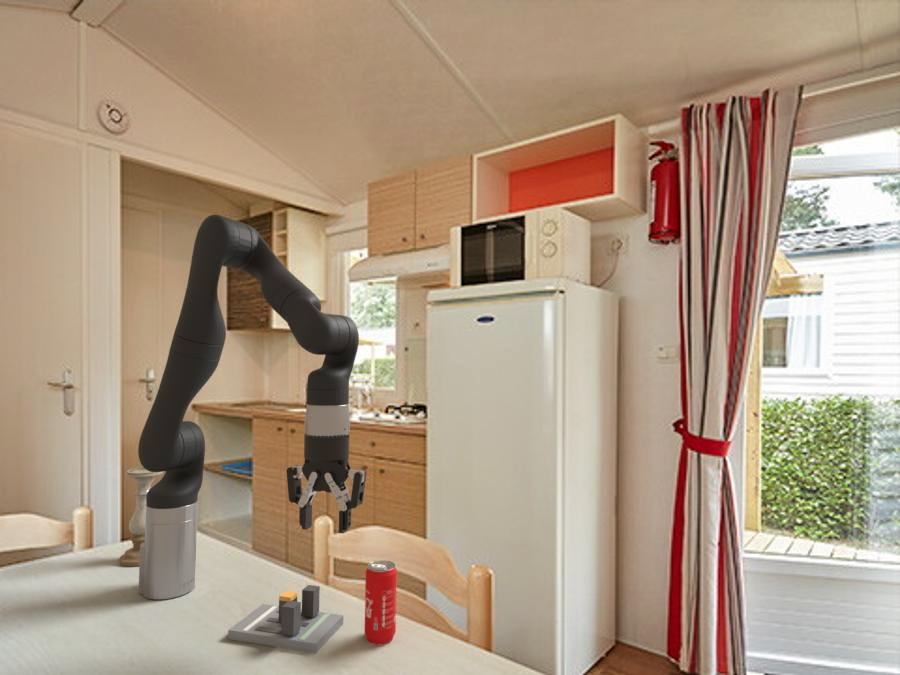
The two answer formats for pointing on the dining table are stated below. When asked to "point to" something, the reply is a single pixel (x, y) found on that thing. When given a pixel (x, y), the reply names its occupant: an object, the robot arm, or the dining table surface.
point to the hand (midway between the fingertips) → (325, 529)
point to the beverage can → (380, 602)
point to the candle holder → (138, 514)
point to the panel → (267, 630)
